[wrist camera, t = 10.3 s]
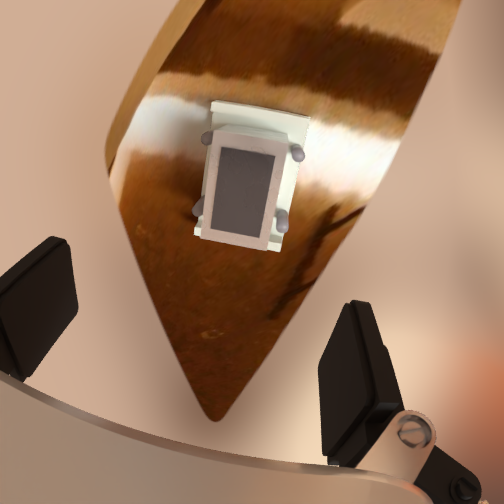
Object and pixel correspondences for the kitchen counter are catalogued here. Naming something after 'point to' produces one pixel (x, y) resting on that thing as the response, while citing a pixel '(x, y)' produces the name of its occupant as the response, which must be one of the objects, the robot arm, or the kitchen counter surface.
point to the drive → (243, 185)
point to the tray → (295, 154)
